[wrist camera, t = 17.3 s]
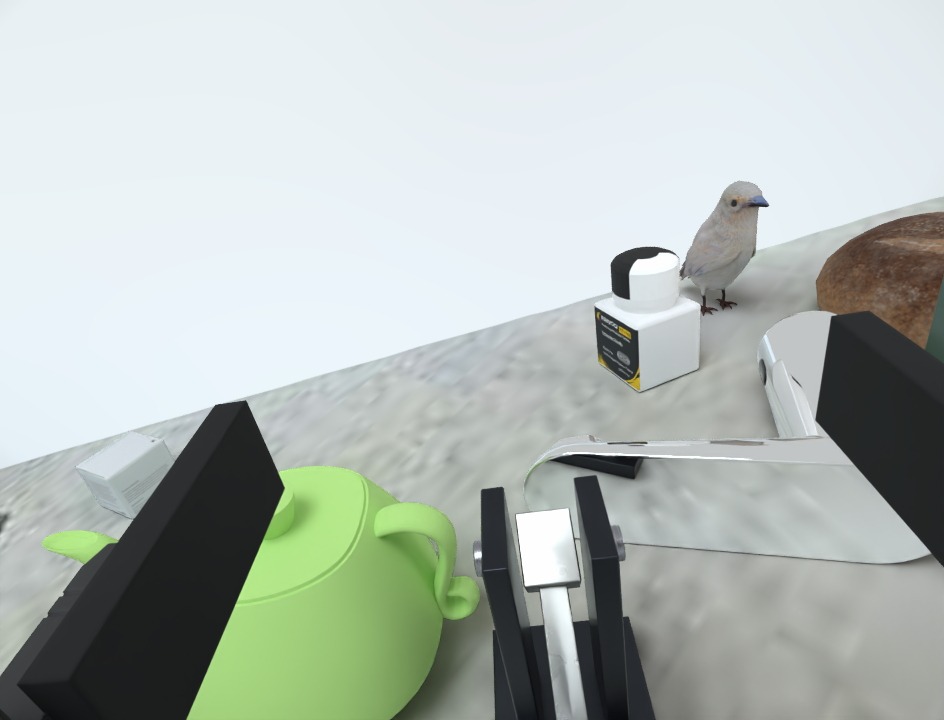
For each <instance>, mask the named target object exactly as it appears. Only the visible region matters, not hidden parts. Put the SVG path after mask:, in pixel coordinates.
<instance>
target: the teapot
mask: <svg viewBox="0 0 944 720" xmlns="http://www.w3.org/2000/svg"><path fill="white" fill-rule="evenodd" d="M278 473H279V475H280V478H281V480H282V482H283V484H284V487H285V490H284V492H283V495H282V497H281V499H280V502H279V504H278V506H277V509H276V511H275V513H274V516H273V518H272V520H271V523H270V525H269V527H268V530H267V532H266V534H265V537H264V539H263V541H262V544H261V546H260V549H259V551H258V553H257V556H256V558H255V560H254V563H253V565H252V567H251V570H250V572H249V574H248V577H247V579H246V581H245V584H244V586H243V588H242V591H241V593H240V595H239V598H238V600H237V602H236V605H235V607H234V610H233V612H232V614H231V617H230V619H229V621H228V624H227V626H226V628H225V631H224V633H223V635H222V638H221V640H220V642H219V645H218V647H217V649H216V652H215V654H214V656H213V659H212V661H211V663H210V666H209V668H208V670H207V673H206V675H205V678H204V680H203V682H202V685H201V687H200V689H199V692H198V694H197V696H196V699H195V701H194V703H193V706H192V708H191V710H190V713H189V715H188V717H187V720H390V719H391V718H393V717H394V716H395V715H396V714H397V713H398V712H399V711H401V710H402V709H403V708H404V707H405V706H406V704H407V703H408V702H409V701H410V700H411V699H412V698H413V696H414V695H415V694H416V693H417V691H418V690H419V688H420V687H421V685H422V684H423V682H424V681H425V679H426V677H427V675H428V673H429V671H430V669H431V667H432V665H433V662H434V659H435V656H436V652H437V649H438V645H439V641H440V635H441V630H442V624H443V617H444V618H446V619H449V620H459V619H463V618H465V617H467V616H469V615H471V614H472V613H473V612H474V611H475V609H476V608H477V606H478V603H479V598H480V594H479V588H478V585H477V584H476V582H475V581H474V580H473V579H471V578H469V577H466V576H458V577H454V578H452V574H453V570H454V565H455V559H456V550H457V543H456V535H455V531H454V528H453V525H452V523H451V522H450V520H449V519H448V518H447V516H446V515H445V514H443V513H442V512H441V511H439V510H437V509H436V508H433V507H431V506H428V505H425V504H420V503H411V502H406V503H401V502H400V501H398V500H397V499H396V498H395V497H394V496H392V495H391V494H389V493H388V492H387V491H385V490H384V489H382V488H381V487H379V486H378V485H377V484H375V483H374V482H372V481H371V480H369V479H368V478H366V477H364V476H362V475H360V474H358V473H357V472H354V471H352V470H349V469H345V468H340V467H329V466H312V467H300V468H293V469H288V470H283V471H279V472H278ZM428 537H429V538H431V539H433V540H434V541H435V542H436V543H437V545H438V548H439V558H437V555H436V552H435V549H434V547H433V545H432V543H431V542H430V540H429V538H428ZM117 542H118V540H116V539H114V538H111V537H109V536H107V535H104V534H101V533H97V532H92V531H65V532H60V533H56V534H53V535H50V536H48V537H46V538H45V539H44V540H43V542H42V545H43V547H44V548H46V549H47V550H49V551H52V552H55V553H58V554H61V555H64V556H67V557H70V558H73V559H75V560H78V561H80V562H81V563H83V564H86V563H87V562H88V561H89V560H90V559H91V558H92V557H94V556H95V555H96V554H97V553H98V552H99V551H100V550H101V549H103V548H104V547H105V546H106V545H107V544H109V543H117Z"/></svg>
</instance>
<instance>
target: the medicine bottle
mask: <svg viewBox="0 0 944 720" xmlns="http://www.w3.org/2000/svg"><path fill="white" fill-rule="evenodd" d="M679 266H680V261H679V257H678V256H677V255H676V254H675V253H674V252H672V251H670V250H666V249H663V248H659V247H640V248H634V249H631V250H628V251H625V252H623V253H621V254H619V255H617V256H616V257H615V258H614V259H613V261H612V262H611V278H612V297H609V298H606V299H604V300H601V301H598V302H596V303H595V305H594V307H595V320H596V334H597V348H598V361H599V363H600V364H601V365H603V366H604V367H605V368H607V369H608V370H609V371H611V372H612V373H613V374H615V375H616V376H617V377H619V378H620V379H622V380H623V381H624V382H626V383H627V384H628V385H630V386H631V387H632V388H634V389H635V390H636V391H638V392H642V391H644V390H647V389H649V388H652V387H654V386H657V385H659V384H662V383H664V382H667V381H669V380H672V379H674V378H677V377H679V376H682V375H684V374H687V373H690V372H692V371H695V370H697V369H698V368H699V350H700V314H701V306H700V304H698V303H696V302H694V301H692V300H690V299H688V298H686V297H683V296H681V295H679V270H680V269H679V268H680V267H679Z"/></svg>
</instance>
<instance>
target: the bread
mask: <svg viewBox="0 0 944 720" xmlns="http://www.w3.org/2000/svg"><path fill="white" fill-rule="evenodd" d="M943 276H944V212H935V213H926V214H919V215H914V216H909V217H904V218H900V219H897V220H894V221H891V222H888V223H885V224H882V225H879V226H877V227H875V228H873V229H870V230H868V231H866V232H864V233H863V234H861V235H859V236H857V237H855V238H853V239H851V240H850V241H848V242H847V243H846V244H845V245H843V246H842V247H841V248H839V249H838V250H837V251H836V252H835V253H834V254H832V255H831V256H830V257H829V258H828V259H827V261H826V263H825V264H824V266H823V268H822V270H821V272H820V274H819V276H818V278H817V280H816V289H817V300H818V306H819V308H820V309H821V310H822V311H827V312H832V313H836V314H838V315H841V314H848V313H855V312H862V311H870V312H872V313H873V314H875V315H876V316H878V317H879V318H880V319H882V320H883V321H885V322H886V323H887V324H889V325H890V326H892V327H893V328H895V329H896V330H897V331H899V332H900V333H902V334H903V335H905V336H906V337H907V338H909V339H910V340H912V341H913V342H914V343H916V344H917V345H919V346H920V347H922V348H923V349H924V350H925V347H926V343H927V339H928V335H929V331H930V327H931V323H932V319H933V315H934V311H935V307H936V303H937V299H938V295H939V291H940V288H941V284H942V280H943Z"/></svg>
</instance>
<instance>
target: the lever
mask: <svg viewBox="0 0 944 720" xmlns="http://www.w3.org/2000/svg"><path fill="white" fill-rule="evenodd" d="M515 517H516V526H517V534H518V542H519V551H520V559H521V567H522V576H523V584H524V587H525V589H526V590H527V592H528V593H531V592H540V599H541V606H542V614H543V622H544V629H545V637H546V644H547V652H548V659H549V667H550V675H551V682H552V690H553V697H554V705H555V712H556V720H588V718H587V711H586V705H585V698H584V692H583V685H582V679H581V672H580V666H579V659H578V652H577V646H576V639H575V633H574V626H573V620H572V613H571V607H570V600H569V594H568V588H577V587H580V584H581V575H580V569H579V563H578V557H577V551H576V544H575V538H574V532H573V526H572V520H571V514H570V509H569V508H560V509H552V510H543V511H535V512H527V513H518V514H515Z"/></svg>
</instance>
